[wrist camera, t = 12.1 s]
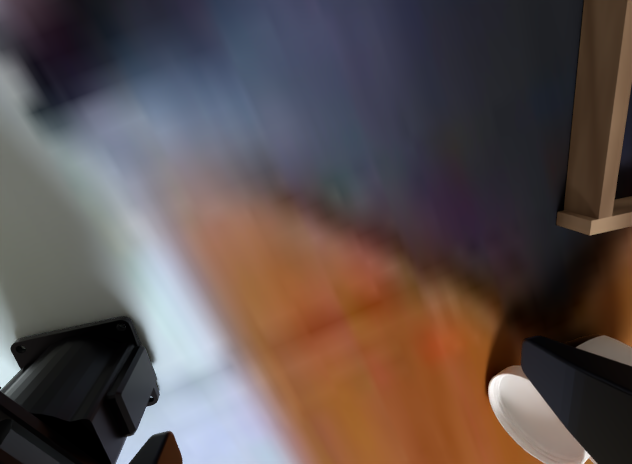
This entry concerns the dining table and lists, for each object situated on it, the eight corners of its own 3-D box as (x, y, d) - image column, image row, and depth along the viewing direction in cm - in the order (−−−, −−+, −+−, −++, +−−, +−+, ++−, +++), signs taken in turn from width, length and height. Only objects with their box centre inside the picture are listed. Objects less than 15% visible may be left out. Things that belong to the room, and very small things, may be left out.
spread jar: (619, 382, 30) (828, 528, 19) (516, 452, 30) (664, 634, 19) (582, 290, 26) (822, 408, 15) (464, 372, 26) (614, 545, 15)
